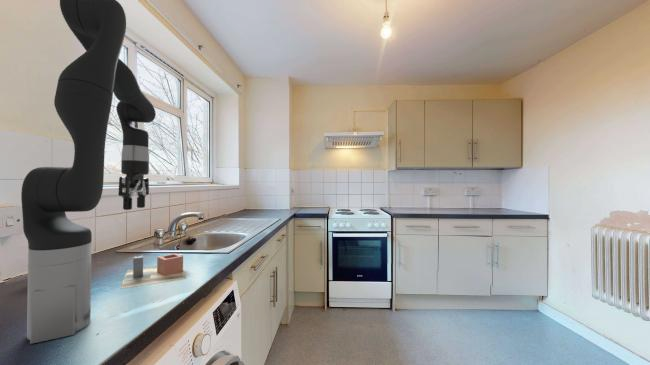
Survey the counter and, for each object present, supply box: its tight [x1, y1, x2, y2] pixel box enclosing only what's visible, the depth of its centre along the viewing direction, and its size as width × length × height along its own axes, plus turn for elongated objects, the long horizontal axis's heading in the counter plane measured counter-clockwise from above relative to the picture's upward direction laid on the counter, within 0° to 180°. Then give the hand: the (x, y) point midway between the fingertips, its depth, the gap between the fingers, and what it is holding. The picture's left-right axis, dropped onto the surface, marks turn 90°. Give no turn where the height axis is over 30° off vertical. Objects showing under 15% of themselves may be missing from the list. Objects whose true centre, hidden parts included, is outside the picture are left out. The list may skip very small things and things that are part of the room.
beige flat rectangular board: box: [119, 265, 187, 289], centre depth 84 cm, size 18×16×1 cm
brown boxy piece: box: [156, 253, 184, 276], centre depth 87 cm, size 6×6×5 cm
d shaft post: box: [132, 255, 144, 278], centre depth 82 cm, size 2×2×7 cm
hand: (134, 208), depth 89 cm, fingers open, 8 cm apart
